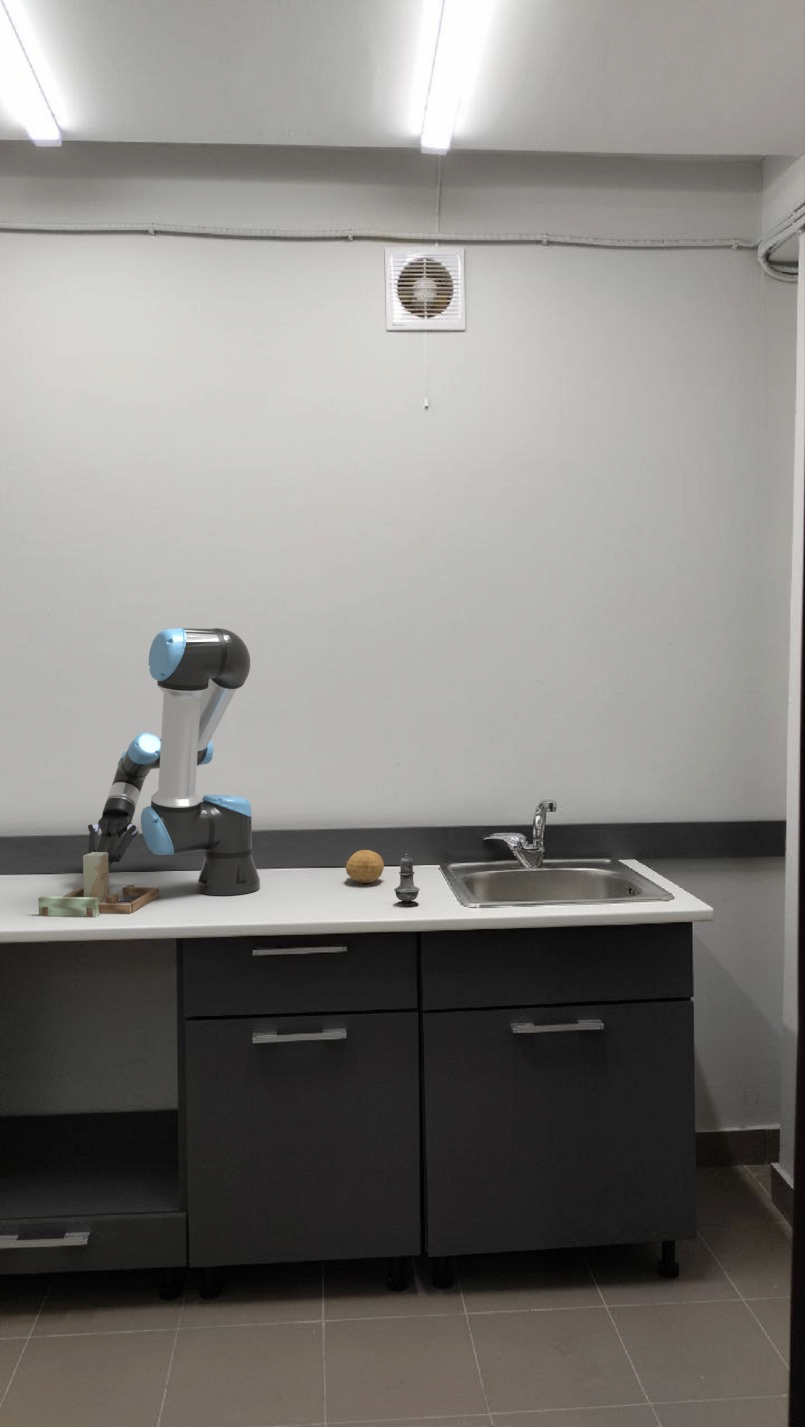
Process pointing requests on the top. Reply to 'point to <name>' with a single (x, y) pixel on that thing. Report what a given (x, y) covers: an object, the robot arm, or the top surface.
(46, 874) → the top surface
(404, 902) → the salt shaker
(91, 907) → the brown green flat frame
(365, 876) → the potato
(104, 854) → the box
